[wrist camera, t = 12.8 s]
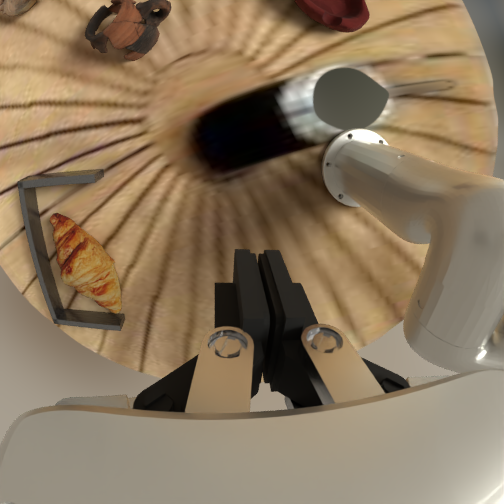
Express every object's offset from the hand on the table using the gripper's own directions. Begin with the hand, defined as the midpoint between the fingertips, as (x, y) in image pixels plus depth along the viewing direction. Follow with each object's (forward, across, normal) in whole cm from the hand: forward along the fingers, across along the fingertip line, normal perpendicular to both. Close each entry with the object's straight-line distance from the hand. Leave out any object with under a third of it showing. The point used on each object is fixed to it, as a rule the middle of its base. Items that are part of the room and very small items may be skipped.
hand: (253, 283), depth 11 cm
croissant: (+33, +24, +18) cm, 44 cm away
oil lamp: (+32, +37, -32) cm, 59 cm away
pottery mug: (+32, +15, -20) cm, 41 cm away
